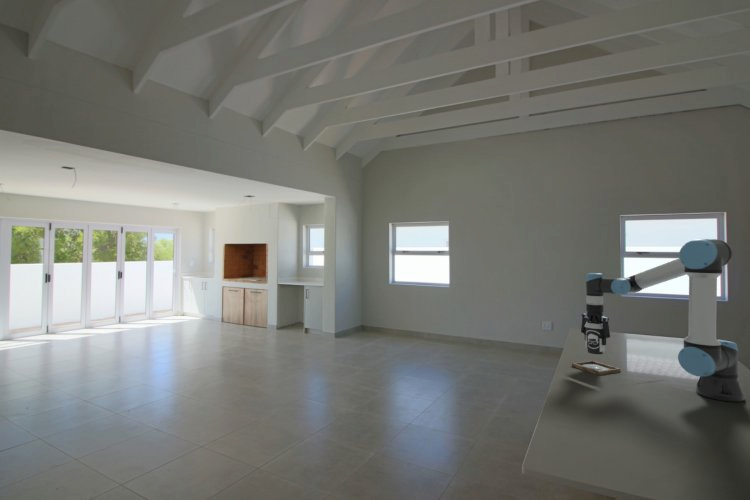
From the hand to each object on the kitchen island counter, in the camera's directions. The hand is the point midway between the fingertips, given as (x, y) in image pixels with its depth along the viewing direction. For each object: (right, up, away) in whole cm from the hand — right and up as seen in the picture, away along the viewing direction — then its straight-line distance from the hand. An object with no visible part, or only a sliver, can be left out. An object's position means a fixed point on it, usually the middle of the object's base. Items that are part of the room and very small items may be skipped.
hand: (595, 349), depth 198 cm
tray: (0, -11, 0) cm, 11 cm away
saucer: (0, -10, 0) cm, 10 cm away
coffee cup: (0, -2, 0) cm, 2 cm away
